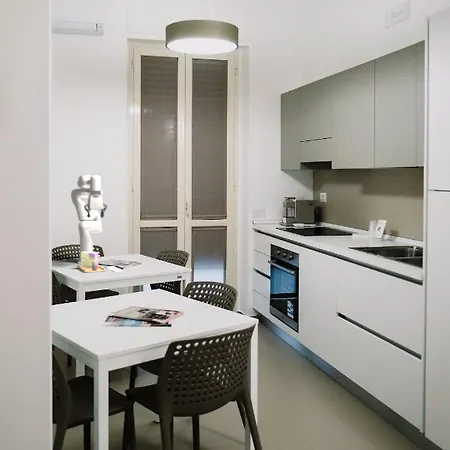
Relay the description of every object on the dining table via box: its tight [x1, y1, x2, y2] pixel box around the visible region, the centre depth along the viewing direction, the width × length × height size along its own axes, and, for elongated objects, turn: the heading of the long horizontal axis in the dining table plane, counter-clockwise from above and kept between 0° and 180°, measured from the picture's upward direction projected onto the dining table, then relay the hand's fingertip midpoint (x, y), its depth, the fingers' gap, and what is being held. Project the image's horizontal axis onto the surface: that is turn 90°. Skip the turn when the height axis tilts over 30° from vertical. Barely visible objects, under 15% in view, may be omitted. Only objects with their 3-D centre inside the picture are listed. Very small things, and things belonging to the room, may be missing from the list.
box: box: [80, 251, 99, 268], centre depth 413 cm, size 10×6×12 cm, turn 81°
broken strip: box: [105, 266, 123, 273], centre depth 413 cm, size 20×6×1 cm, turn 28°
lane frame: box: [76, 262, 107, 273], centre depth 410 cm, size 20×14×6 cm
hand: (95, 217), depth 414 cm, fingers open, 9 cm apart
